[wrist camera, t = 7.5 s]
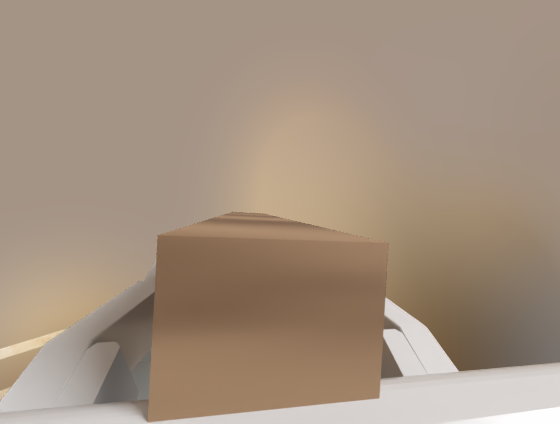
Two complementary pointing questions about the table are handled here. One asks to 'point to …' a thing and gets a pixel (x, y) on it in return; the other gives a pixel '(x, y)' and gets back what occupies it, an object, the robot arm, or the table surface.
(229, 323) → the bar
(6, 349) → the table surface
